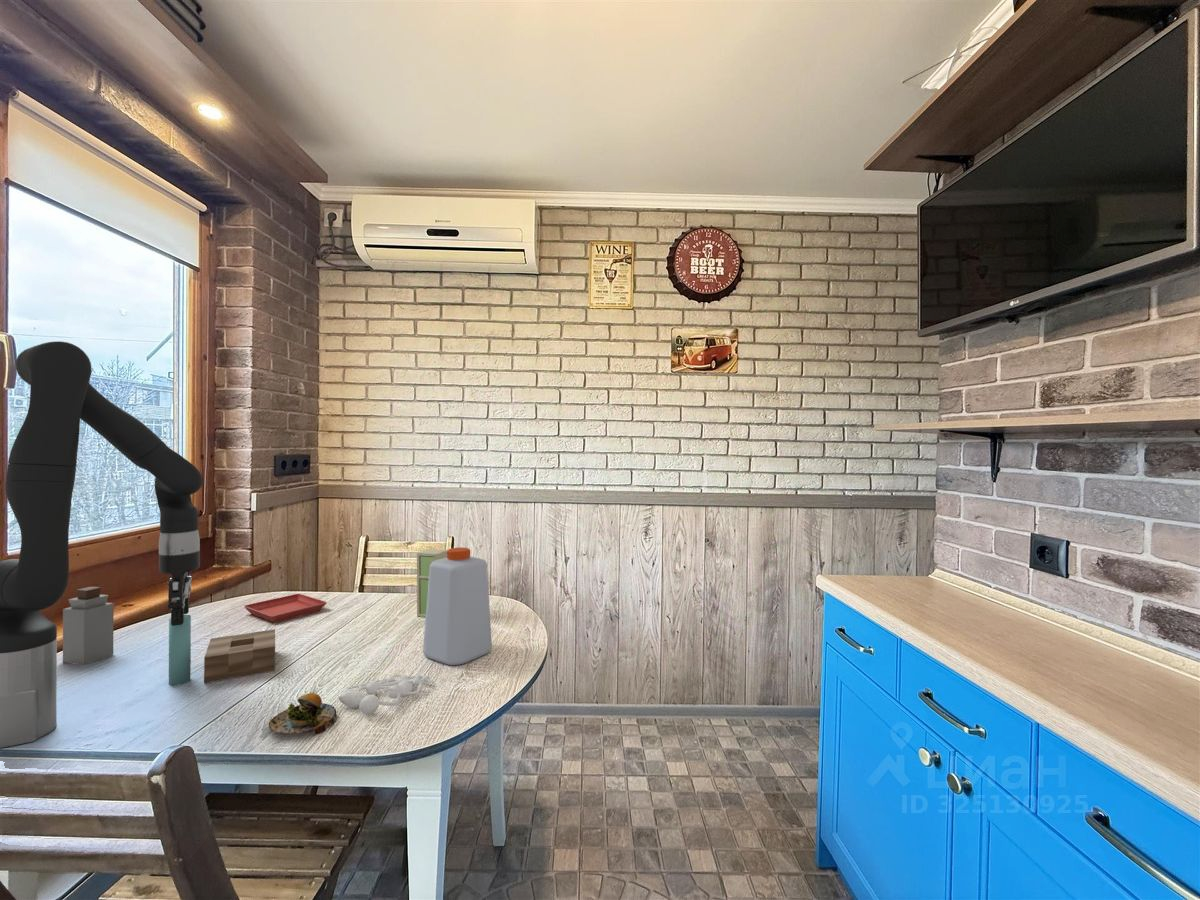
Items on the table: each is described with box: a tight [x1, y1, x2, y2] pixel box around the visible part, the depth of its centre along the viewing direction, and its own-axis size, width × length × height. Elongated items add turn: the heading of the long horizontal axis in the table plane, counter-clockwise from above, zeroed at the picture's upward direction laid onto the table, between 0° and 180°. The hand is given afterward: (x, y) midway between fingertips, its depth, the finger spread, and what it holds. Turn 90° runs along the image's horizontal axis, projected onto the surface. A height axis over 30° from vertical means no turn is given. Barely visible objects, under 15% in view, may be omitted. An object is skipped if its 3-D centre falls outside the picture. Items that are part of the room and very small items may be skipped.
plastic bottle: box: [422, 547, 493, 666], centre depth 144 cm, size 15×15×28 cm
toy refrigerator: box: [416, 548, 449, 618], centre depth 175 cm, size 8×7×21 cm
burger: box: [268, 685, 338, 736], centre depth 106 cm, size 12×12×8 cm
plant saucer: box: [243, 593, 328, 623], centre depth 176 cm, size 18×18×3 cm
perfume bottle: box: [62, 586, 115, 666], centre depth 137 cm, size 7×7×18 cm
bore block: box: [203, 628, 276, 684], centre depth 134 cm, size 14×14×6 cm
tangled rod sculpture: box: [338, 673, 431, 716], centre depth 120 cm, size 19×14×4 cm
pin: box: [168, 614, 192, 686], centre depth 125 cm, size 4×4×15 cm
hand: (180, 619), depth 125 cm, fingers open, 8 cm apart
